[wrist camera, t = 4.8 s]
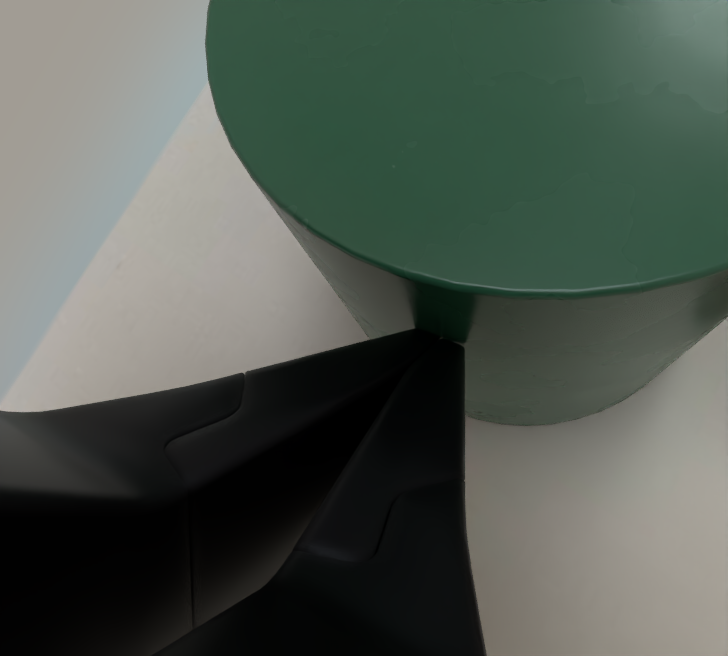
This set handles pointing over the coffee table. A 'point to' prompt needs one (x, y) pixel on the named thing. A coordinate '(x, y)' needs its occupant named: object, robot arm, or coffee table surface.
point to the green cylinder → (497, 177)
